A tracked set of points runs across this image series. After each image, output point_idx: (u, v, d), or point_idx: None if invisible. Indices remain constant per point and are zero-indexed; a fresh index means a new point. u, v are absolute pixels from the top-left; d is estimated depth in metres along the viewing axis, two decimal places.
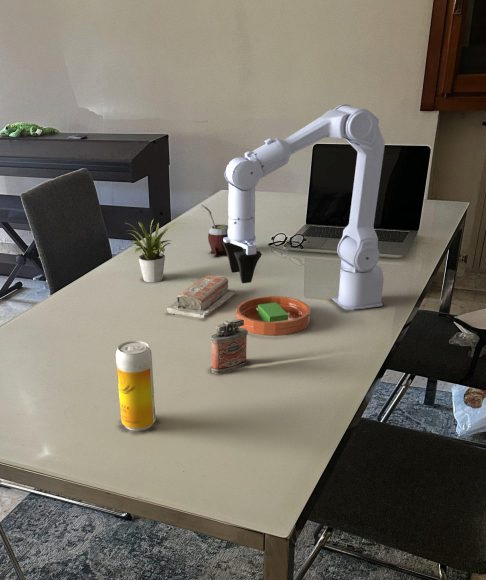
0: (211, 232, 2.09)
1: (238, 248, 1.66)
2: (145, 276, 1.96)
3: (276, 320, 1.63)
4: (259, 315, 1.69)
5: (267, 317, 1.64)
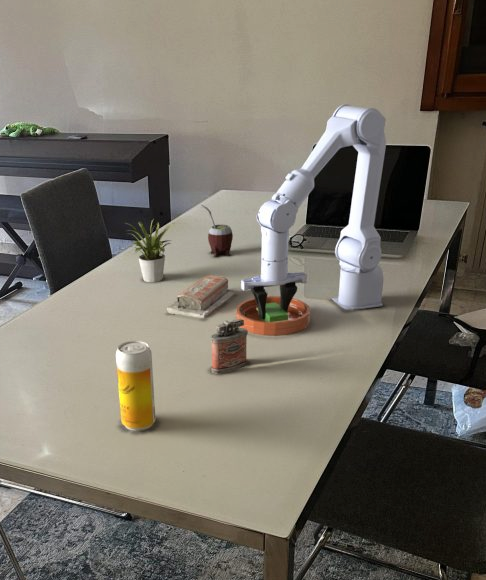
0: (211, 232, 2.09)
1: (284, 292, 1.64)
2: (145, 276, 1.96)
3: (276, 320, 1.63)
4: None
5: (267, 317, 1.64)
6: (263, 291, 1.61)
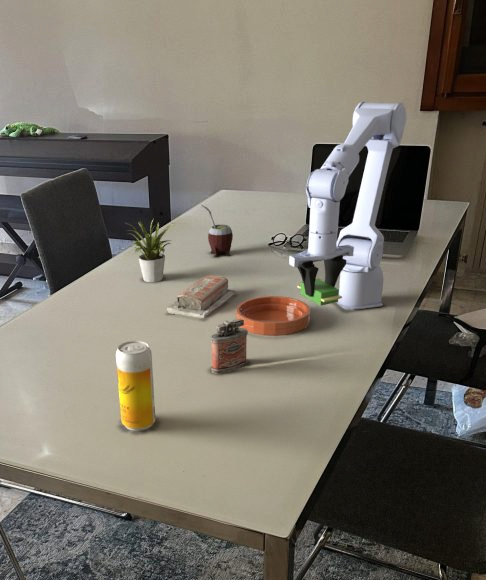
0: (211, 232, 2.09)
1: (331, 267, 1.56)
2: (145, 276, 1.96)
3: (327, 296, 1.54)
4: (303, 293, 1.60)
5: (316, 294, 1.55)
6: (313, 266, 1.53)
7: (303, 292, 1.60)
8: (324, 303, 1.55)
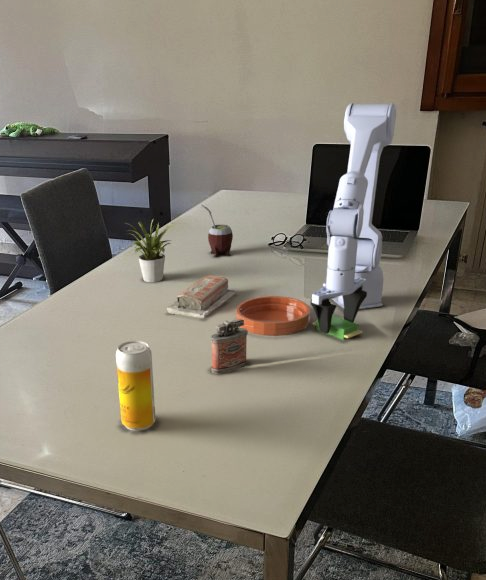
0: (211, 232, 2.09)
1: (352, 299, 1.58)
2: (145, 276, 1.96)
3: (349, 332, 1.56)
4: None
5: (338, 331, 1.57)
6: (330, 304, 1.53)
7: None
8: None
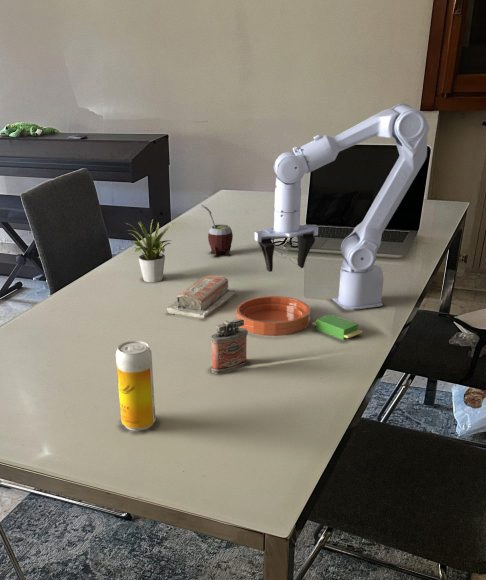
0: (211, 232, 2.09)
1: None
2: (145, 276, 1.96)
3: (349, 332, 1.56)
4: None
5: (338, 331, 1.57)
6: None
7: (320, 329, 1.61)
8: None
